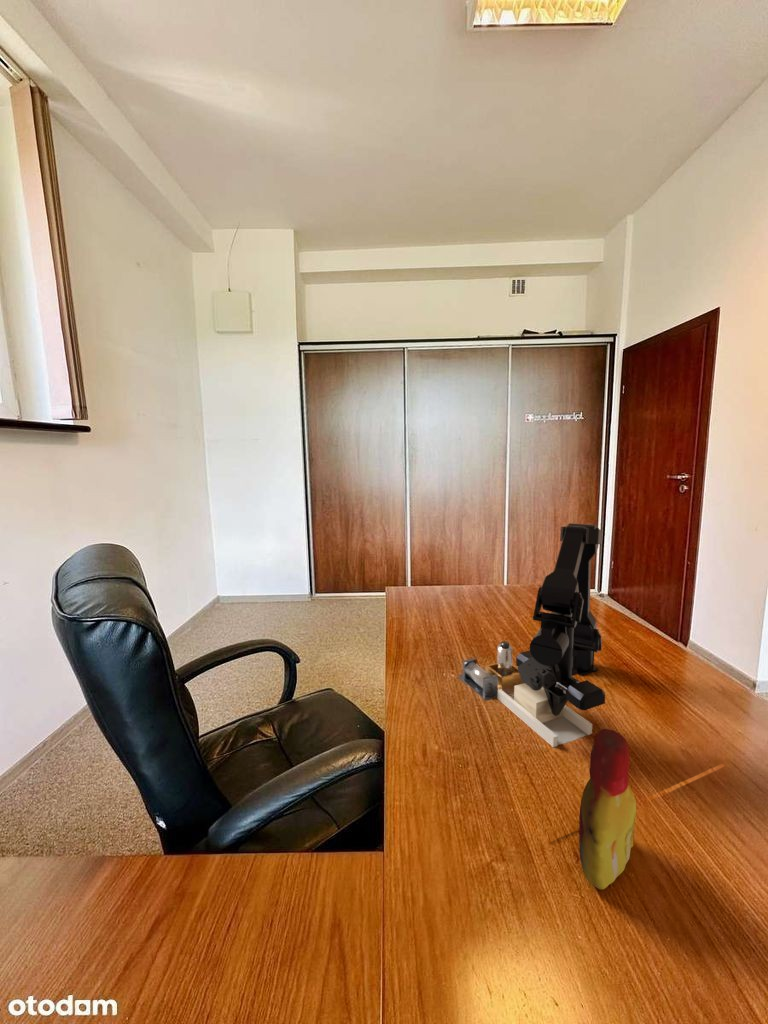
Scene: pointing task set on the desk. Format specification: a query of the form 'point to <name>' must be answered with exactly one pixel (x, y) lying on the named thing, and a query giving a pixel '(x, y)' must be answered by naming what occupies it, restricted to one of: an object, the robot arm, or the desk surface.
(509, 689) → the grey metal holder
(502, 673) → the capped metal canister
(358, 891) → the desk surface
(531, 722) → the bay
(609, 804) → the bottle
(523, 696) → the pale wooden block
